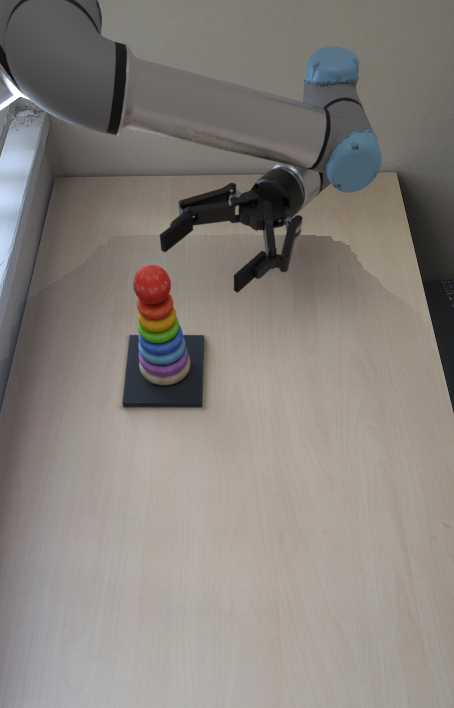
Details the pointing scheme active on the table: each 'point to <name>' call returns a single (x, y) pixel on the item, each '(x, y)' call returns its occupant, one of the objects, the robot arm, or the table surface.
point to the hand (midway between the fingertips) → (198, 263)
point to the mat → (173, 395)
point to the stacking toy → (159, 329)
